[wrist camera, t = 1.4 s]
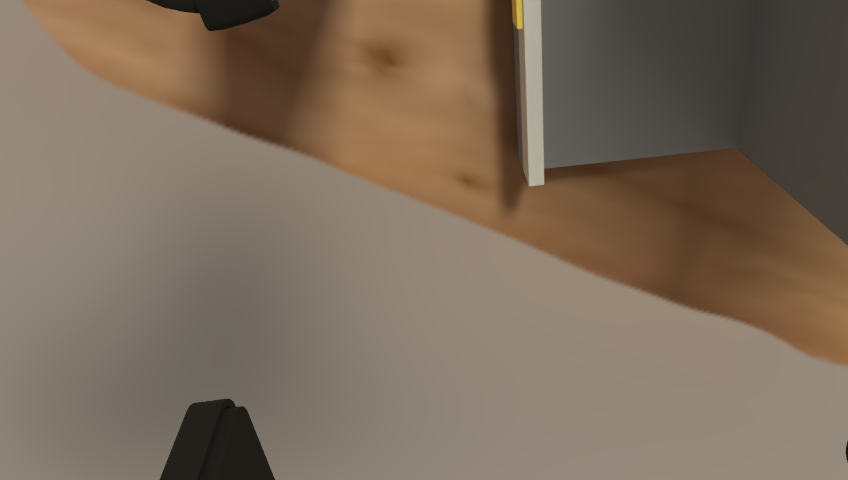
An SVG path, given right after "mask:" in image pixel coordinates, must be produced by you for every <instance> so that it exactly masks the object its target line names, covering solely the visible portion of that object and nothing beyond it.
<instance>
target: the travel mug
mask: <svg viewBox="0 0 848 480" xmlns="http://www.w3.org/2000/svg"><path fill="white" fill-rule="evenodd" d="M147 1H150V2H152V3H155V4H157V5H159V6H162V7H164V8H169V9H173V10H178V11H183V12H191V13H200V15H201V18H202V20H203V22H204V24H205V27H206V28H207V29H208V30H209V31H214V30H223V29H227V28H231V27H234V26H238V25H241V24H245V23H248V22H251V21H253V20H256V19H259V18H262V17H265V16H267V15H269V14H271V13H272V12H274V11H275V10H277V8H278V7H279V3H278V1H277V0H274V1H272V0H147Z"/></svg>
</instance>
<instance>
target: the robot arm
mask: <svg viewBox="0 0 848 480" xmlns="http://www.w3.org/2000/svg"><path fill="white" fill-rule="evenodd" d="M846 457H847V461H848V442H847V447H846ZM160 480H275V479H274V477H273V474H272V471H271V469H270V467H269V464H268V462H267V459H266V456H265V454H264V451H263V449H262V446H261V444H260V441H259V439H258V436H257V434H256V431H255V429H254V427H253V424H252V421H251V419H250V417H249V414H248V412H247V410H246V408H244V407H243V406H242V407H236V406H235V404H234V402H233V401H232V400H231V399H221V400H214V401H206V402H199V403H193V404H192V405H190V406H189V408H188V410H187V412H186V414H185V417H184V420H183V422H182V425H181V427H180V430H179V432H178V435H177V437H176V440H175V442H174V445H173V447H172V450H171V452H170V455H169V457H168V460H167V463H166V465H165V468H164V470H163V473H162V475H161V478H160Z"/></svg>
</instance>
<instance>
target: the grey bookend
mask: <svg viewBox="0 0 848 480" xmlns="http://www.w3.org/2000/svg"><path fill="white" fill-rule="evenodd" d="M512 18H513V38H514V64H515V89H516V115H517V141H518V158H519V161H520V163H521V166H522V169H523V171H524V174H525V177H526V179H527V182H528V185H529V186H537V185H544V169H547V168H556V167H565V166H575V165H584V164H593V163H603V162H612V161H621V160H631V159H640V158H649V157H659V156H668V155H677V154H686V153H696V152H705V151H714V150H724V149H733V148H737V149H739V150H740V151H741V152H742V153H743V154H744V155H745V156H747V157H748V158H749V159H750V160H751V161H752V162H753V163H755V164H756V165H757V166H758V167H759V168H760V169H761V170H762V171H764V172H765V173H766V174H767V175H768V176H769V177H770V178H772V179H773V180H774V181H775V182H776V183H777V184H778V185H780V186H781V187H782V188H783V189H784V190H785V191H786V192H787V193H789V194H790V195H791V196H792V197H793V198H794V199H795V200H797V201H798V202H799V203H800V204H801V205H802V206H803V207H804V208H806V209H807V210H808V211H809V212H810V213H811V214H812V215H814V216H815V217H816V218H817V219H818V220H819V221H820V222H822V223H823V224H824V225H825V226H826V227H827V228H828V229H829V230H831V231H832V232H833V233H834V234H835V235H836V236H837V237H839V238H840V239H841V240H842V241H843V242H844V243H845V244H847V245H848V0H512Z"/></svg>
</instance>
